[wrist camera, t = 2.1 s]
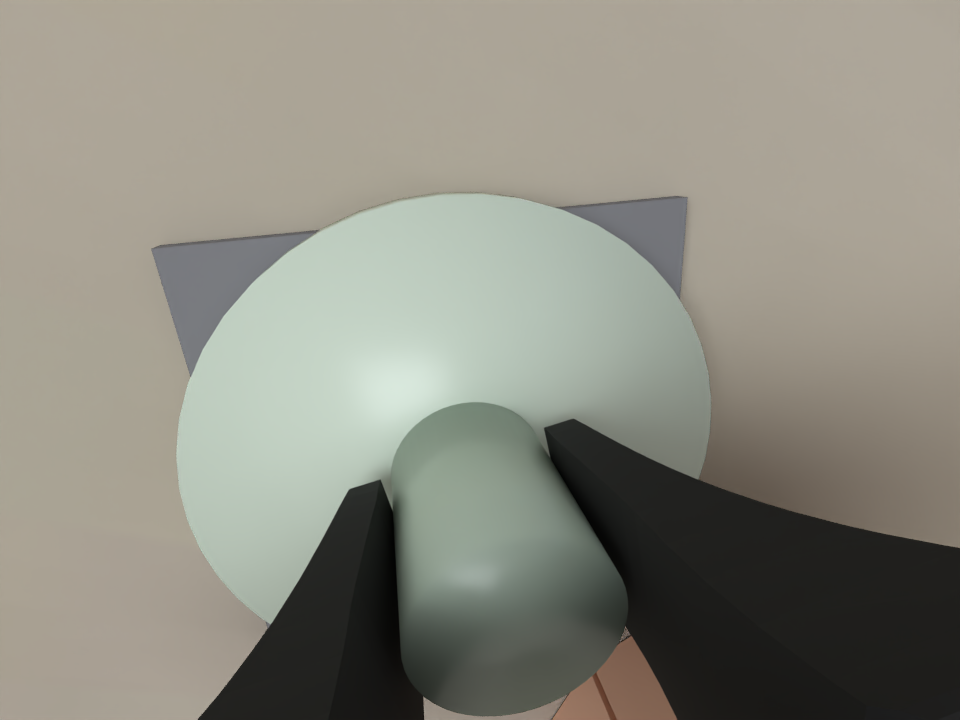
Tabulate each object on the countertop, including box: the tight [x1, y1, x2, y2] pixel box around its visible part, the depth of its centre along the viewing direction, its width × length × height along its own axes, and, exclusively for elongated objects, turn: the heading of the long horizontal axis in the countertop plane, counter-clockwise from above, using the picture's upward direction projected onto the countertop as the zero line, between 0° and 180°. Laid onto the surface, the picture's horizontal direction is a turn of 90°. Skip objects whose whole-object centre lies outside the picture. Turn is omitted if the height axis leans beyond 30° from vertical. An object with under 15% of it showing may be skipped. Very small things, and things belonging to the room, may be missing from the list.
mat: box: [151, 196, 687, 628], centre depth 12 cm, size 10×10×1 cm
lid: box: [176, 192, 711, 716], centre depth 9 cm, size 11×11×5 cm
